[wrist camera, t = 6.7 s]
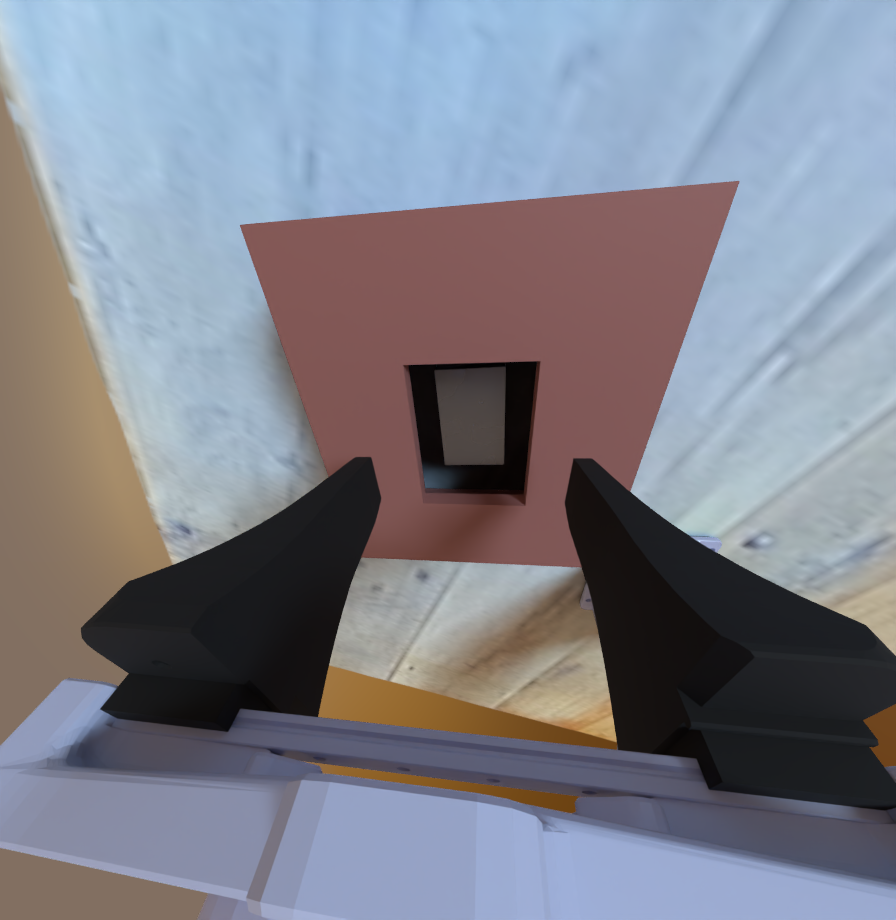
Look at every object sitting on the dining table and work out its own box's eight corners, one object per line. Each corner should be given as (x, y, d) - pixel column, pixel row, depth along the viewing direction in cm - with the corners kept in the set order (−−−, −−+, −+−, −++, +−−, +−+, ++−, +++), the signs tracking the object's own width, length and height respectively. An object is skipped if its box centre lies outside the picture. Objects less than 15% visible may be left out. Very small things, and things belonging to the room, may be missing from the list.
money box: (579, 499, 22) (603, 568, 17) (382, 495, 23) (357, 557, 19) (650, 199, 13) (739, 181, 8) (317, 227, 14) (239, 225, 10)
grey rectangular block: (501, 425, 19) (503, 464, 16) (451, 426, 20) (445, 465, 16) (502, 340, 16) (505, 366, 13) (444, 344, 17) (434, 370, 13)
